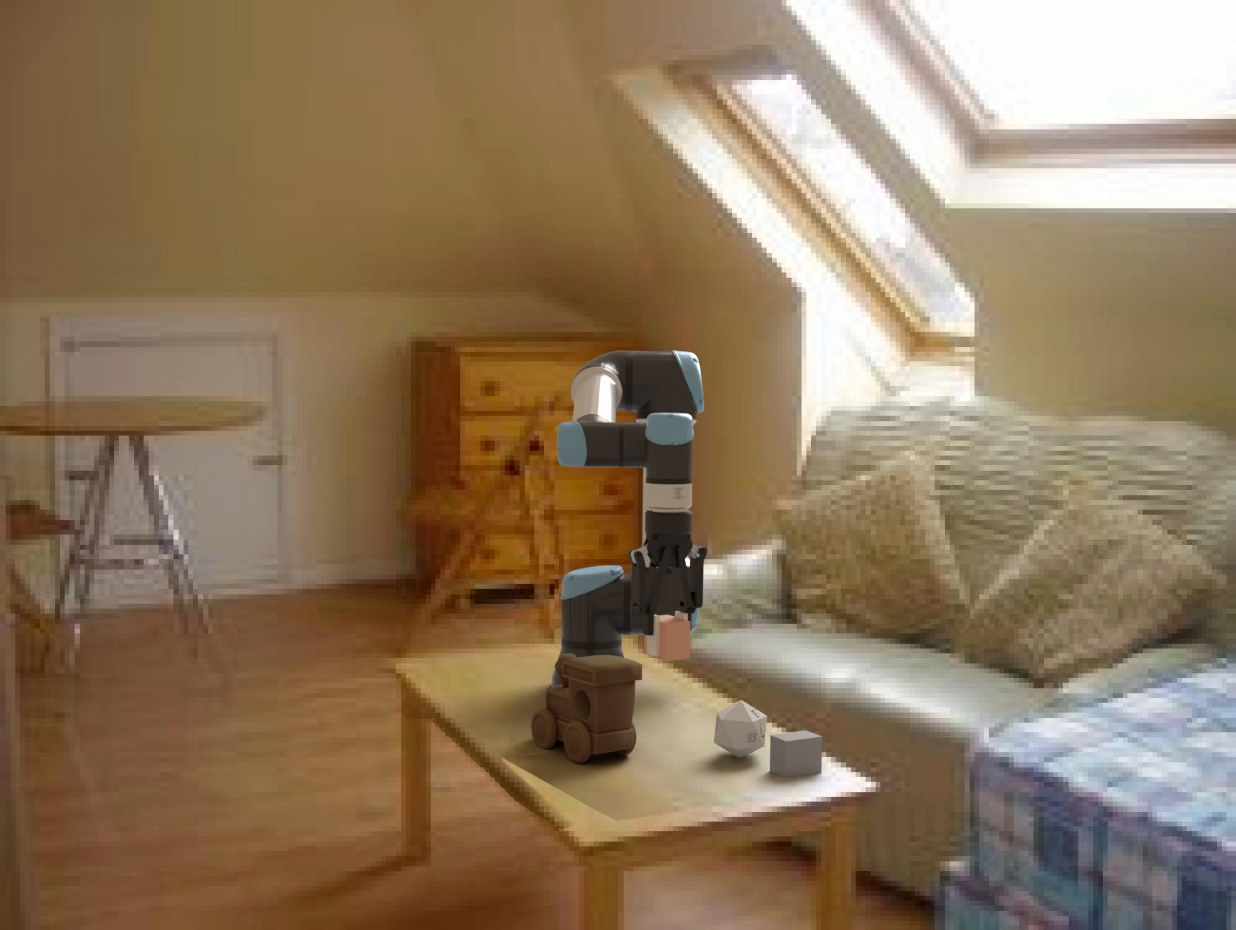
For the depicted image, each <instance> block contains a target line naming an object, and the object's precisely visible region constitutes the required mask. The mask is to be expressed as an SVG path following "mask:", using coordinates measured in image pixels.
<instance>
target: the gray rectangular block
mask: <svg viewBox="0 0 1236 930" xmlns="http://www.w3.org/2000/svg"><path fill="white" fill-rule="evenodd" d="M769 736H770V739H769V744H770V747H769V772H770V773H774V774H775V775H778V776H780V777H783V778H784V779H786V778H787V779H788V778H795V777H801V776H807V775H813V774H820V773H822V766H823V764H822V763H823V762H822V760H823V756H822V755H823V736H822V735H819V734H817V733H813V732H811V731H808V730H798V731H790V732H784V733H778V734H777V733H776V734H770V735H769Z"/></svg>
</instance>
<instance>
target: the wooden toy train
mask: <svg viewBox="0 0 1236 930" xmlns="http://www.w3.org/2000/svg"><path fill="white" fill-rule="evenodd" d="M558 657H559V656H558ZM556 660H557V661H556V662H555V663H554V669H556V671H557V673H558V676H559V678H560V680H561V682H562V685H557V686H553V687H552V686H551V687H548V688H546V690H545V695H544V696H545V697H544V702H545V703H544V704H545V705H544V708H539V709H538V710H536V711H535V712H534V714H533V715H532V718H531V722H530V731H531V732H530V733H531V736H532V739H533V741H534V743H535V744H536V746H538V747H539V748H542V749H545V750H550V749H552V748H553V747H555V744H556V743H557V741H561V742H563V745H564V749H565V751H566V754H567V756H568V757H569V758H570V760H571V761H572V762H574V763H576V764H583V763H585V762H587V761H588V760H589V758H590V757H591V755H592V754H594V755H601V754H606V753H612V752H614V753H616V754H618V755H619V756H624V757H626V756H628V755H630V754H631V753H632V752H633V751H634V749H635V747H636V743H637V730H636V727H635V725H634V722H633V717H634V711H635V708H634V707H635V699H636V681H643V664H642V663H640V662H638V661H636V660H633V659H629V658H626V657H624V658H623V657H619V656H612V655H594V656H586V657H578V658H577V657H576V656H575V654H570V653H565V654H561V655H560V657H559V659H558V658H557V659H556Z"/></svg>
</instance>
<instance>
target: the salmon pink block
mask: <svg viewBox="0 0 1236 930" xmlns="http://www.w3.org/2000/svg"><path fill="white" fill-rule="evenodd" d="M659 616H660V626H659V656H658V657H655V656H652V655H649V654H647V635H645V634H644V635H643V654H645V655H648V656H651V657H653V658H656V659H658V660H661V661H664V662H672V661H681V660H683V661H684V660H690V659H691V634H690V621H687V620H684V619H680V618H677V617H674V616H671V615H659Z"/></svg>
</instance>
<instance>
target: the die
mask: <svg viewBox="0 0 1236 930" xmlns="http://www.w3.org/2000/svg"><path fill="white" fill-rule="evenodd" d="M767 719H768V715H766V714H765V713H763V712H761V711H760V710H759V709H757V708H755V707H753V706H751V705H750V704H749V703H747V702H746V701H744V700H742V699H740V700H738V701H736V702H734V703H733V704H730V705H728V706H727V707H724V708H723V709H721V710H719V711H717V712H716V718H715V726H714V737H713V743H714V744H715V745H717V746H719V748H722V749H723V750H725V751H727V752H728V753H730V754H731V755H733V756H735V757H737V758H739V759H742V758H744V757H746V756H749V755H750V754H752V753H755V752H756V751H758V750H759V749H762V748H763V747H765V743H766V732H767V723H768V722H767V721H768V720H767Z"/></svg>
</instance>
